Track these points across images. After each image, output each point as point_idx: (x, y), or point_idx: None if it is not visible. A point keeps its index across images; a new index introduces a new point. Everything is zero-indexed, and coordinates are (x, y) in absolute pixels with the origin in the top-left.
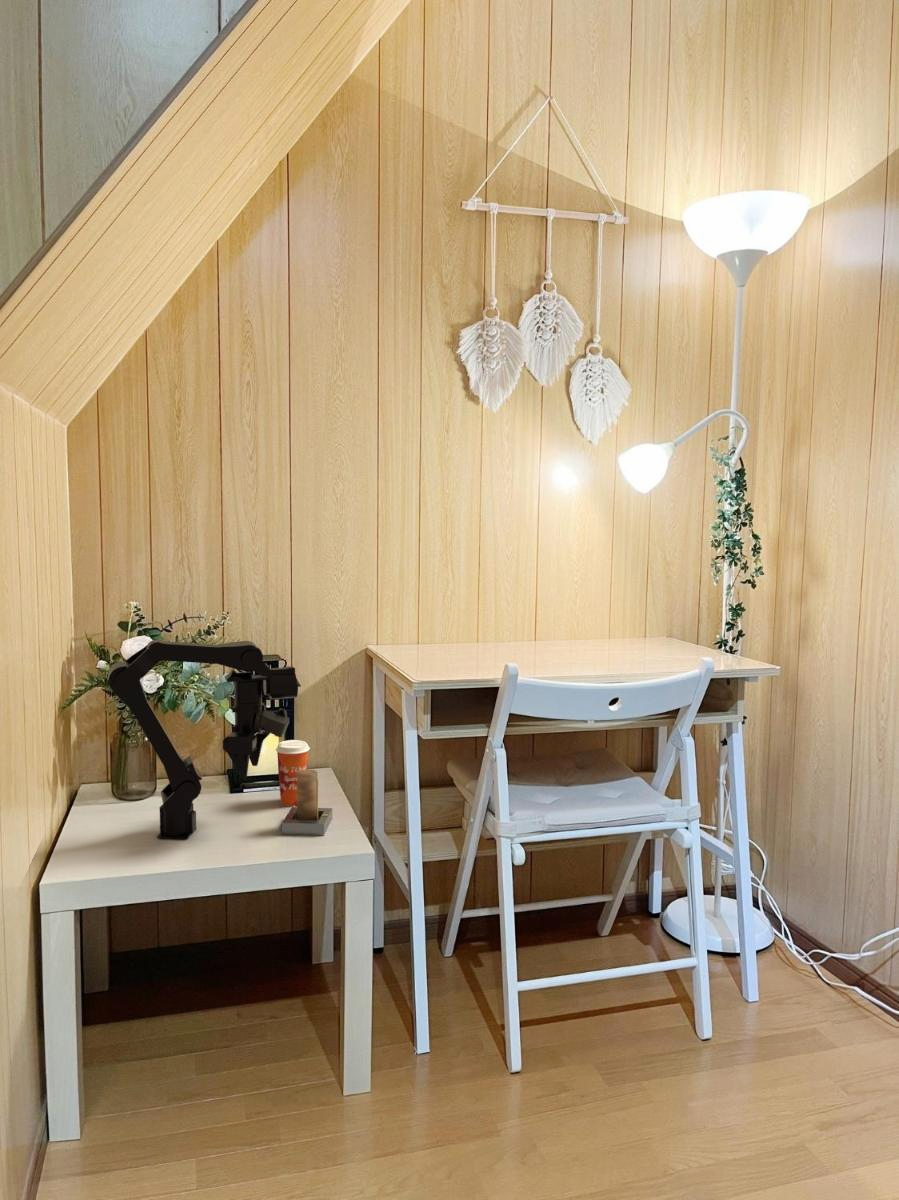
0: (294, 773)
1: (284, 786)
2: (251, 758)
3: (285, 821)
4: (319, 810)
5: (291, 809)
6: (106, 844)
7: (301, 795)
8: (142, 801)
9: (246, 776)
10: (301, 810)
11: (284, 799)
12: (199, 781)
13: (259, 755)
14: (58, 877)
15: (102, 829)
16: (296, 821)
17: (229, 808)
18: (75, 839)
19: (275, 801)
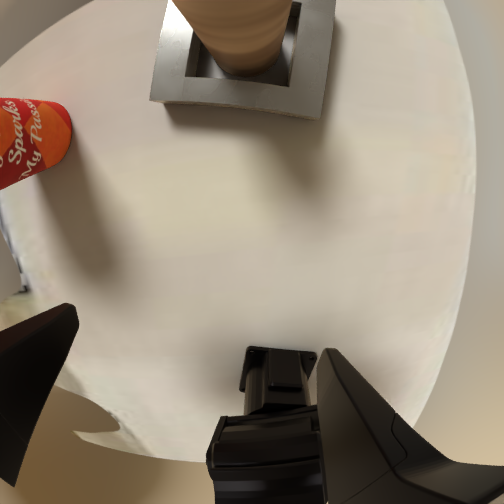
0: (2, 127)
1: (32, 158)
2: (60, 356)
3: (307, 106)
4: None
5: (174, 97)
6: None
7: (285, 20)
8: (112, 410)
9: (335, 353)
10: (279, 43)
11: (57, 153)
12: (318, 456)
13: (26, 325)
14: None
15: None
16: (309, 68)
17: (102, 289)
18: None
19: (45, 183)
